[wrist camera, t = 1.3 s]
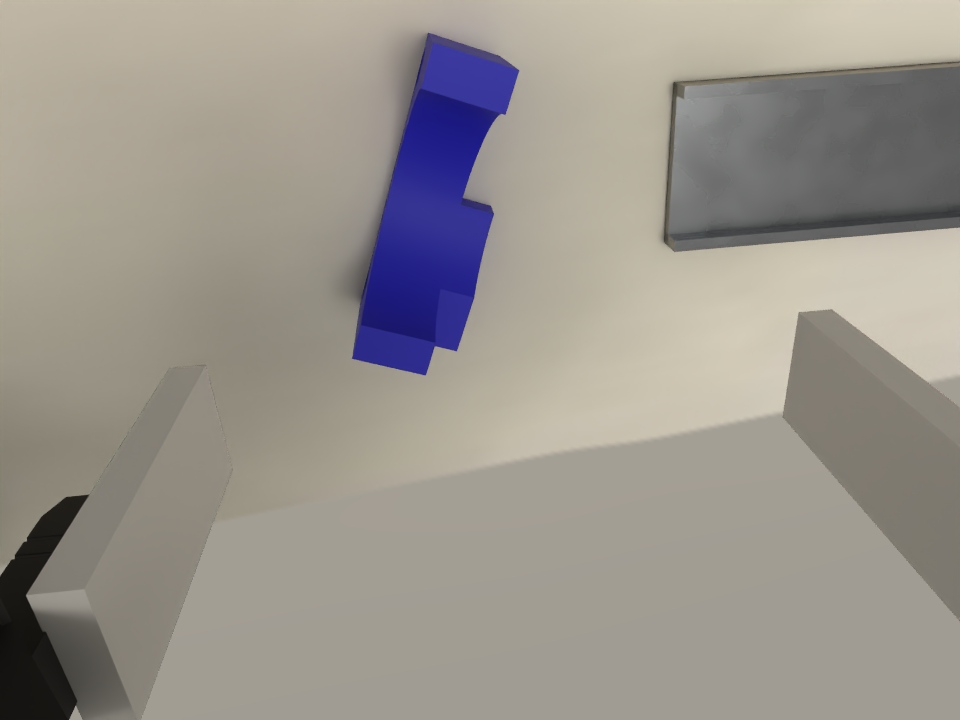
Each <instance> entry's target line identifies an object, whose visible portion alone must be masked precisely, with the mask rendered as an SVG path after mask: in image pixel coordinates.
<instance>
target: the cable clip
mask: <svg viewBox="0 0 960 720" xmlns="http://www.w3.org/2000/svg"><path fill="white" fill-rule="evenodd" d="M518 72H519V70H518V69H517V68H515V67H514V66H512V65H511V64H510V63H508V62H507V61H506V60H504V59H503V58H501V57H500V56H498V55H494V54H491V53H488V52H485V51H482V50H479V49H476V48H473V47H470V46H467V45H464V44H461V43H458V42H455V41H452V40H449V39H446V38H442V37H439V36H436V35H433V34H430V33H428V36H427V40H426V44H425V48H424V52H423V56H422V60H421V64H420V68H419V72H418V76H417V80H416V84H415V88H414V92H413V96H412V100H411V104H410V108H409V112H408V116H407V120H406V124H405V128H404V132H403V136H402V140H401V144H400V148H399V152H398V156H397V160H396V164H395V168H394V172H393V176H392V180H391V183H390V187H389V191H388V195H387V199H386V203H385V207H384V211H383V215H382V219H381V223H380V227H379V231H378V235H377V239H376V243H375V247H374V251H373V255H372V259H371V263H370V267H369V271H368V275H367V279H366V283H365V287H364V291H363V295H362V299H361V303H360V309H359V316H358V323H357V330H356V337H355V343H354V350H353V357H352V359H356V360H360V361H364V362H369V363H373V364H378V365H382V366H387V367H391V368H395V369H400V370H404V371H409V372H413V373H417V374H422V375H426V373H427V370H428V366H429V363H430V360H431V357H432V353H433V350H434V347H435V346H437V347H441V348H446V349H450V350H454V351H457V349H458V346H459V343H460V340H461V337H462V334H463V330H464V327H465V324H466V321H467V318H468V315H469V312H470V309H471V306H472V302H473V299H474V295H475V289H476V283H477V278H478V273H479V268H480V263H481V259H482V255H483V251H484V247H485V243H486V239H487V236H488V232H489V228H490V225H491V222H492V218H493V215H494V213H493V211H492V208H491V206H489V205H485V204H482V203H478V202H474V201H471V200H467V199H464V198H463V194H464V191H465V188H466V185H467V182H468V179H469V176H470V173H471V170H472V167H473V165H474V162H475V159H476V157H477V154H478V152H479V149H480V147H481V145H482V142H483V140H484V138H485V136H486V134H487V132H488V130H489V128H490V126H491V125H492V123H493V122H494V120H495V119H496V118H497V117H498V116H499V115H500V114H504V115H506V111H507V108H508V105H509V102H510V98H511V95H512V92H513V88H514V85H515V82H516V79H517V75H518Z"/></svg>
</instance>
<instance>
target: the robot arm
mask: <svg viewBox="0 0 960 720" xmlns="http://www.w3.org/2000/svg"><path fill="white" fill-rule="evenodd" d="M783 418H784V419H785V420H786V422H787V423H788V424H789V425H790V426H791V427H792V428H793V430H794V431H795V432H796V433H797V434H798V435H799V437H800V438H801V439H802V440H803V441H804V442H805V443H806V445H807V446H808V447H809V448H810V449H811V450H812V452H813V453H814V454H815V455H816V456H817V457H818V458H819V460H820V461H821V462H822V463H823V464H824V465H825V467H826V468H827V469H828V470H829V471H830V472H831V473H832V475H833V476H834V477H835V478H836V479H837V480H838V482H839V483H840V484H841V485H842V486H843V487H844V488H845V490H846V491H847V492H848V493H849V494H850V495H851V496H852V498H853V499H854V500H855V501H856V502H857V503H858V505H859V506H860V507H861V508H862V509H863V510H864V512H865V513H866V514H867V515H868V516H869V517H870V518H871V520H872V521H873V522H874V523H875V524H876V525H877V526H878V528H879V529H880V530H881V531H882V532H883V533H884V535H885V536H886V537H887V538H888V539H889V540H890V541H891V542H892V544H893V545H894V546H895V547H896V548H897V550H898V551H899V552H900V553H901V554H902V555H903V556H904V558H906V560H907V561H908V562H909V563H910V564H911V566H912V567H913V568H914V569H915V570H916V571H917V573H918V574H919V575H920V576H921V577H922V578H923V579H924V581H925V582H926V583H927V584H928V585H929V586H930V588H931V589H932V590H933V591H934V592H935V593H936V594H937V596H938V597H939V598H940V599H941V600H942V601H943V603H944V604H945V605H946V606H947V607H948V608H949V609H950V611H952V613H953V614H954V615H955V616H956V618H957V619H959V621H960V407H959V406H958V405H957V404H955V403H954V402H953V401H951V400H950V399H949V398H947V397H946V396H945V395H943V394H942V393H941V392H940V391H938V390H937V389H936V388H934V387H933V386H931V385H930V384H929V383H928V382H926V381H925V380H924V379H922V378H921V377H920V376H919V375H917V374H916V373H915V372H913V371H912V370H911V369H909V368H908V367H907V366H905V365H904V364H903V363H901V362H900V361H899V360H898V359H896V358H895V357H894V356H892V355H891V354H890V353H888V352H887V351H886V350H884V349H883V348H882V347H881V346H879V345H878V344H877V343H875V342H874V341H873V340H871V339H870V338H869V337H867V336H866V335H865V334H863V333H862V332H861V331H860V330H858V329H857V328H856V327H854V326H853V325H852V324H850V323H849V322H848V321H846V320H845V319H844V318H842V317H841V316H840V315H839V314H837V313H836V312H835V311H833V310H832V309H831V310H820V311H809V312H799V314H798V320H797V327H796V333H795V340H794V347H793V353H792V360H791V366H790V373H789V379H788V386H787V392H786V399H785V405H784V412H783ZM231 473H232V466H231V462H230V458H229V454H228V450H227V446H226V442H225V438H224V434H223V431H222V427H221V423H220V419H219V415H218V411H217V407H216V403H215V399H214V396H213V392H212V388H211V384H210V380H209V376H208V372H207V368H206V365H199V366H188V367H177V368H169V370H168V371H167V373H166V374H165V376H164V378H163V379H162V381H161V382H160V384H159V386H158V387H157V389H156V390H155V392H154V393H153V395H152V397H151V398H150V400H149V401H148V403H147V405H146V406H145V408H144V409H143V411H142V412H141V414H140V416H139V417H138V419H137V420H136V422H135V424H134V425H133V427H132V428H131V430H130V431H129V433H128V435H127V436H126V438H125V439H124V441H123V443H122V444H121V446H120V447H119V449H118V450H117V452H116V454H115V455H114V457H113V458H112V460H111V462H110V463H109V465H108V466H107V468H106V469H105V471H104V473H103V474H102V476H101V477H100V479H99V481H98V482H97V484H96V485H95V487H94V488H93V490H92V492H91V493H90V495H82V496H72V497H66V498H64V499H63V500H62V501H61V502H59V503H58V504H57V505H56V506H54V507H53V508H52V509H51V510H49V511H48V512H47V513H46V514H44V515H43V516H42V517H41V518H40V520H39V521H38V523H37V524H36V525H35V527H34V528H33V530H32V531H31V533H30V534H29V536H28V537H27V542H24V543H23V544H22V546H21V547H20V548H19V550H18V551H17V553H16V554H15V559H14V560H11V561H10V563H9V564H8V566H7V567H6V569H5V570H4V572H3V573H2V574H1V576H0V720H69V718H70V716H71V714H72V712H73V710H74V708H75V706H77V708H78V710H79V713H80V715H81V717H82V719H83V720H141V718H142V715H143V712H144V710H145V706H146V704H147V701H148V699H149V696H150V693H151V690H152V688H153V685H154V682H155V680H156V677H157V674H158V671H159V668H160V666H161V663H162V660H163V658H164V655H165V652H166V650H167V647H168V644H169V642H170V639H171V636H172V633H173V631H174V628H175V625H176V622H177V620H178V617H179V614H180V612H181V609H182V606H183V603H184V601H185V598H186V595H187V593H188V590H189V587H190V584H191V582H192V579H193V576H194V574H195V571H196V568H197V565H198V563H199V560H200V557H201V555H202V552H203V549H204V546H205V544H206V541H207V538H208V535H209V533H210V530H211V527H212V525H213V522H214V519H215V516H216V514H217V511H218V508H219V506H220V503H221V500H222V497H223V495H224V492H225V489H226V487H227V484H228V481H229V478H230V476H231Z"/></svg>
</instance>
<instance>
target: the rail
mask: <svg viewBox="0 0 960 720" xmlns="http://www.w3.org/2000/svg"><path fill="white" fill-rule="evenodd" d="M959 227H960V62H947V63H933V64H920V65H906V66H892V67H878V68H864V69H851V70H837V71H823V72H809V73H795V74H782V75H768V76H754V77H740V78H726V79H713V80H699V81H685V82H674V88H673V104H672V121H671V138H670V155H669V171H668V188H667V205H666V222H665V238H664V242H665V243H666V244H667V245H668V246H669V247H670V248H671V249H672V250H673V251H674V252H677V251H689V250H700V249H712V248H724V247H736V246H747V245H759V244H771V243H783V242H794V241H806V240H818V239H829V238H841V237H853V236H865V235H876V234H888V233H900V232H912V231H923V230H935V229H947V228H959Z"/></svg>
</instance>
